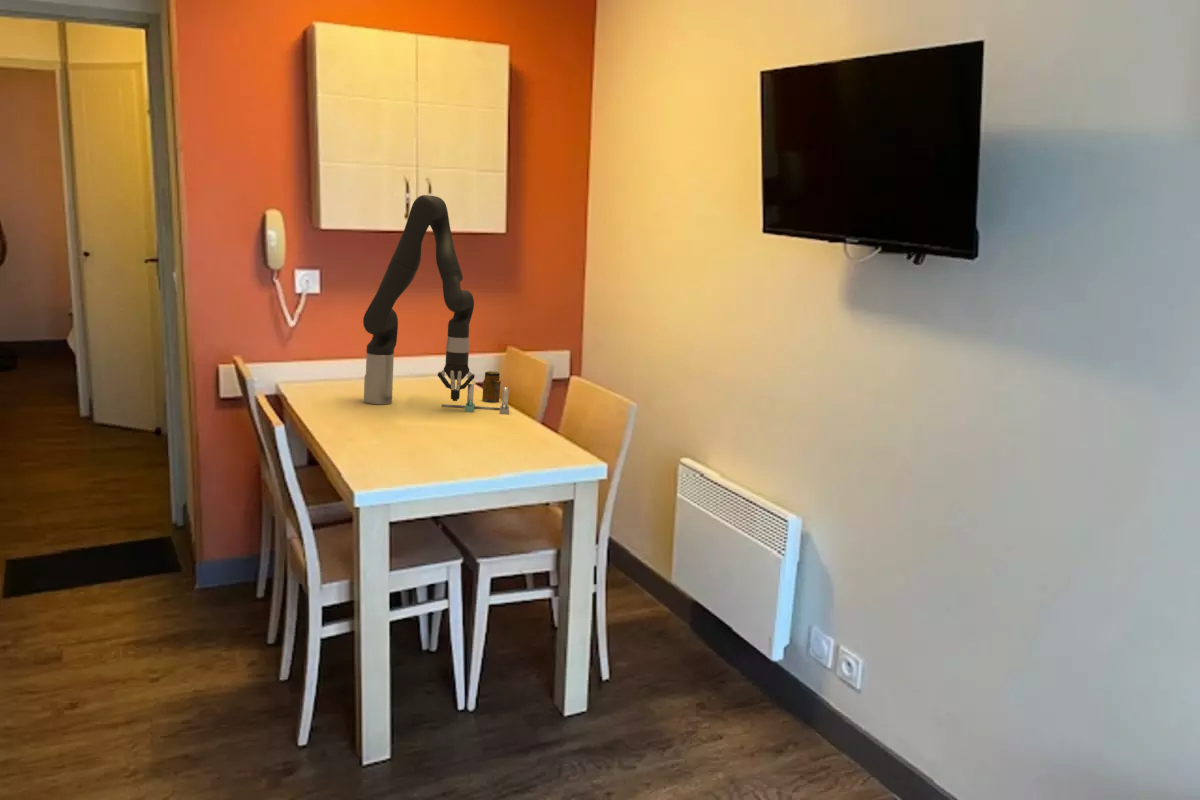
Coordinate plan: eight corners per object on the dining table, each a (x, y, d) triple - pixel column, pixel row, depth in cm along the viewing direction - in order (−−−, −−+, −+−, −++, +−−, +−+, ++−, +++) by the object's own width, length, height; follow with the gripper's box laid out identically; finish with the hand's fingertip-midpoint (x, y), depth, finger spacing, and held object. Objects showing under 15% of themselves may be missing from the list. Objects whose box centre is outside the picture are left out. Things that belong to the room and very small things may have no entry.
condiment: (493, 402, 342) (495, 370, 339) (506, 407, 335) (508, 374, 333) (476, 404, 337) (478, 371, 335) (489, 408, 331) (491, 375, 328)
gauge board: (436, 418, 309) (436, 411, 309) (440, 409, 323) (440, 403, 323) (509, 422, 311) (509, 416, 311) (510, 413, 325) (510, 407, 325)
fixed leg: (499, 414, 317) (501, 388, 315) (500, 411, 322) (501, 385, 320) (508, 415, 317) (510, 389, 315) (508, 412, 322) (510, 386, 320)
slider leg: (464, 411, 316) (466, 385, 314) (465, 408, 321) (467, 382, 319) (473, 412, 316) (475, 386, 314) (474, 409, 321) (475, 383, 319)
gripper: (436, 350, 310) (434, 401, 313) (476, 353, 311) (474, 404, 314) (438, 347, 317) (436, 397, 320) (478, 349, 318) (475, 399, 321)
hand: (455, 400), depth 317 cm, fingers closed
